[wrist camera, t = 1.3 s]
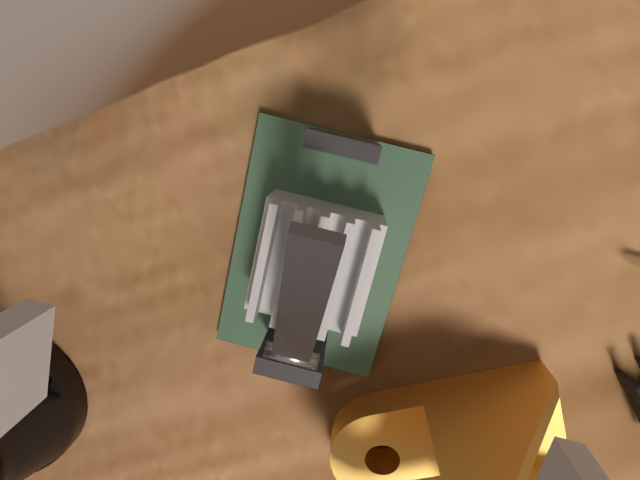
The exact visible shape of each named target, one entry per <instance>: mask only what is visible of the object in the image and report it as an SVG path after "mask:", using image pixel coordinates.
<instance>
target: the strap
mask: <svg viewBox="0 0 640 480" xmlns="http://www.w3.org/2000/svg"><path fill="white" fill-rule="evenodd" d="M346 237H347V234H343V233H339V232H335V231H331V230H327V229H323V228H319V227H315V226H311V225H307V224H303V223H299V222H295V221H292V222H291V225H290V228H289V231H288V235H287V243H286V250H285V258H284V265H283V272H282V280H281V287H280V295H279V302H278V310H277V317H276V324H275V332H274V339H273V342H270V341H266V344H265V347H264V351H263V356H262V357H264V358H268V359H272V360H276V361H280V362H284V363H287V364H291V365H295V366H299V367H303V368H307V369H311V370H315V371H316V370H317V366H318V362H319V357H320V354H317V353H313V350H314V347H315V343H316V340H317V337H318V333H319V330H320V327H321V323H322V320H323V317H324V313H325V310H326V307H327V303H328V300H329V297H330V293H331V290H332V287H333V283H334V280H335V277H336V273H337V270H338V267H339V263H340V260H341V257H342V253H343V250H344V246H345V242H346Z"/></svg>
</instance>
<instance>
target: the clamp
mask: <svg viewBox="0 0 640 480" xmlns="http://www.w3.org/2000/svg"><path fill="white" fill-rule="evenodd" d="M555 436H556V437H560V438H564V439H566V433H565V427H564V421H563V415H562V409H561V403H560V397H559V391H558V385H557V381H556V379H555V378H554V377H553V375H552V374H551V373H550V372H549V370H548V369H547V368H546V366H545V365H544V364H543V363H542V361H541V360H537V361H532V362H526V363H521V364H516V365H511V366H506V367H500V368H495V369H490V370H485V371H480V372H475V373H469V374H464V375H459V376H454V377H449V378H443V379H438V380H433V381H428V382H423V383H417V384H412V385H407V386H402V387H397V388H391V389H386V390H381V391H376V392H371V393H366V394H362V395H360V396H357V397H355V398H353V399H352V400H350V401H349V402H347V403H346V404H345V405H344V406H343V407H342V408H341V409H340V410H339V412H338V413H337V415H336V417H335V419H334V422H333V426H332V436H331V448H330V464H331V468H332V471H333V474H334V476H335V478H336V479H337V480H535V478H536V476H537V474H538V472H539V470H540V467H541V465H542V463H543V461H544V459H545V457H546V454H547V452H548V450H549V448H550V446H551V443H552V441H553V439H554V437H555ZM380 445H384V446H389V447H387V448H383V449H379V448H375V446H380Z"/></svg>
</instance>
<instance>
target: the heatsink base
mask: <svg viewBox="0 0 640 480" xmlns="http://www.w3.org/2000/svg"><path fill="white" fill-rule="evenodd" d="M434 157H435V155H433V154H428V153H424V152H420V151H416V150H412V149H408V148H404V147H400V146H396V145H392V144H388V143H383V142H379V141H375V140H371V139H367V138H363V137H359V136H355V135H351V134H347V133H342V132H338V131H334V130H330V129H326V128H322V127H318V126H314V125H310V124H306V123H301V122H297V121H293V120H289V119H285V118H281V117H277V116H273V115H269V114H265V113H259V117H258V123H257V128H256V133H255V138H254V144H253V149H252V154H251V159H250V165H249V170H248V175H247V181H246V186H245V191H244V196H243V202H242V207H241V212H240V217H239V223H238V228H237V233H236V238H235V244H234V249H233V254H232V259H231V265H230V270H229V275H228V281H227V286H226V291H225V296H224V302H223V307H222V312H221V317H220V323H219V328H218V333H217V338H216V339H219V340H223V341H227V342H231V343H235V344H239V345H243V346H247V347H251V348H255V349H259V351H258V353H257V356H256V359H255V364H254V368H253V373H254V374H258V375H262V376H266V377H270V378H274V379H277V380H281V381H285V382H289V383H293V384H297V385H301V386H305V387H309V388H313V389H317V390H318V387H319V383H320V380H321V376H322V371H323V366H326V367H330V368H334V369H338V370H341V371H345V372H349V373H353V374H357V375H361V376H365V377H369V374H370V370H371V367H372V364H373V360H374V357H375V354H376V350H377V347H378V344H379V340H380V337H381V334H382V330H383V327H384V324H385V321H386V317H387V314H388V311H389V307H390V304H391V301H392V297H393V294H394V291H395V287H396V284H397V281H398V277H399V274H400V271H401V267H402V264H403V261H404V257H405V254H406V251H407V247H408V244H409V241H410V237H411V234H412V231H413V227H414V224H415V221H416V217H417V214H418V211H419V207H420V204H421V201H422V197H423V194H424V191H425V187H426V184H427V181H428V177H429V174H430V171H431V167H432V164H433V161H434ZM292 221H295V222H299V223H303V224H307V225H311V226H315V227H319V228H323V229H327V230H331V231H335V232H339V233H343V234H347V237H346V242H345V246H344V250H343V253H342V257H341V260H340V263H339V267H338V270H337V273H336V277H335V280H334V283H333V287H332V290H331V293H330V297H329V300H328V303H327V307H326V310H325V313H324V317H323V320H322V323H321V327H320V330H319V333H318V337H317V340H316V343H315V347H314V350H313V353H317V354H320V357H319V362H318V366H317V370H316V371H315V370H311V369H307V368H303V367H299V366H295V365H291V364H287V363H284V362H280V361H276V360H272V359H268V358H264V357H262V356H263V351H264V347H265V344H266V341H270V342H273V339H274V332H275V324H276V317H277V310H278V302H279V295H280V287H281V280H282V272H283V265H284V258H285V250H286V243H287V235H288V231H289V228H290V225H291V222H292Z"/></svg>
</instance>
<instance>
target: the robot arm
mask: <svg viewBox="0 0 640 480" xmlns="http://www.w3.org/2000/svg"><path fill="white" fill-rule="evenodd" d="M54 316H55V306H54V305H50V304H46V303H43V302H39V301H35V300H31V299H27V298H26V299H24V300H23V301H21V302H19V303H17V304H15V305H13V306H11V307H9V308H8V309H6V310H4V311H2V312H0V480H24V479H25V478H27V477H29V476H30V475H32V474H33V473H35V472H37V471H39V470H41V469H43V468H45V467H47V466H49V465H50V464H52V463H53V462H55V461H56V460H57V459H58V458H59V457H60V456H61V455H63V453H64V452H65V451H66V450H67V449H68V448H69V447H70V446H71V444H72V443H73V442H74V441H75V440H76V439H77V437H78V436H79V434H80V433H81V431H82V429H83V426H84V423H85V420H86V414H87V400H86V394H85V390H84V387H83V384H82V381H81V379H80V377H79V375H78V373H77V371H76V370H75V368H74V367H73V365H72V364H71V362H70V361H69V360H68V359H67V358H66V356H65V355H64V354H63V353H62V352H61V351H60V350H59V349H57V348H56V347H55V346H54V345H53V344H52V338H53V327H54ZM535 480H610V479H609V478H608V476H607V475H606V473H605V472H604V471H603V469H602V468H601V466H600V465H599V464H598V462H597V461H596V459H595V458H594V457H593V455H592V454H591V452H590V451H589V450H588V448H587V447H586V446H585V444H583V443H579V442H575V441H571V440H567V439H564V438H560V437H556V436H555V437H554V439H553V441H552V443H551V446H550V448H549V450H548V452H547V454H546V457H545V459H544V461H543V463H542V465H541V467H540V470H539V472H538V474H537V476H536V478H535Z"/></svg>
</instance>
